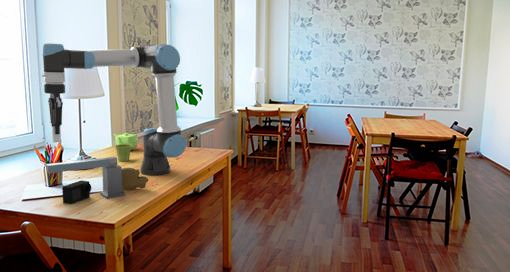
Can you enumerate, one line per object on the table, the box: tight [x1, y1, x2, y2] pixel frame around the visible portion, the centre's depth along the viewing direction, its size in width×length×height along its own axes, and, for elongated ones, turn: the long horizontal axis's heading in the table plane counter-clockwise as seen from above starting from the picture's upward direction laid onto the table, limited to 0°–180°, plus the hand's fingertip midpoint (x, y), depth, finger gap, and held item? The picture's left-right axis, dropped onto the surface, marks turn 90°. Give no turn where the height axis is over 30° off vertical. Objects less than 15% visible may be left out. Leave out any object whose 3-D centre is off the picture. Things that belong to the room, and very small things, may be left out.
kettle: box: [112, 132, 139, 151], centre depth 274 cm, size 15×14×11 cm
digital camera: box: [61, 180, 92, 205], centre depth 173 cm, size 10×5×7 cm, turn 159°
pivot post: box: [99, 164, 126, 199], centre depth 181 cm, size 8×8×12 cm
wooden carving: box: [121, 167, 149, 191], centre depth 189 cm, size 16×5×10 cm, turn 98°
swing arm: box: [45, 156, 118, 174], centre depth 172 cm, size 27×4×3 cm, turn 128°
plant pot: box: [114, 144, 132, 162], centre depth 245 cm, size 9×9×9 cm
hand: (56, 141), depth 172 cm, fingers closed
